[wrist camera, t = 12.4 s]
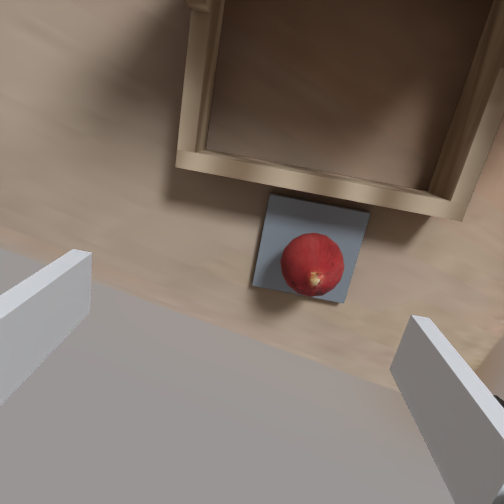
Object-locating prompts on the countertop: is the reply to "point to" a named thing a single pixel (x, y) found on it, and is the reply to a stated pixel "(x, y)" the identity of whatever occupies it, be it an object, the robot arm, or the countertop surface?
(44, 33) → the countertop surface
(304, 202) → the slate mat
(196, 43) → the box
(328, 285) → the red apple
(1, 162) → the countertop surface
